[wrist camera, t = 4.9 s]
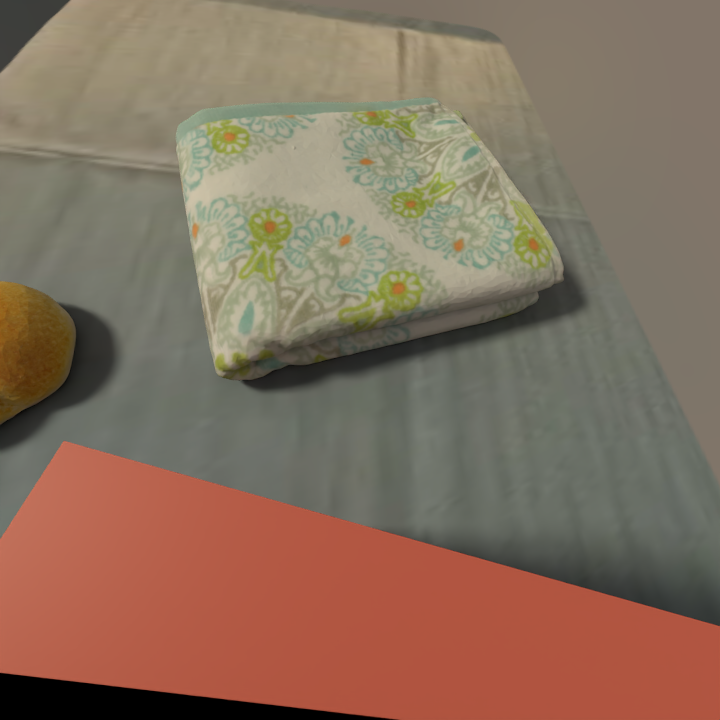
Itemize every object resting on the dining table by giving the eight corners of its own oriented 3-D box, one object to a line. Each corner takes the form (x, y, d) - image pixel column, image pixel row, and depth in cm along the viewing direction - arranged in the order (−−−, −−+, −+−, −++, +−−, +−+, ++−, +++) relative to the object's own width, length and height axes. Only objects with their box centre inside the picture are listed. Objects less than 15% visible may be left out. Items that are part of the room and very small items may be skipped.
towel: (547, 312, 24) (598, 261, 20) (225, 394, 20) (194, 352, 15) (442, 144, 31) (461, 77, 27) (189, 177, 27) (160, 105, 23)
